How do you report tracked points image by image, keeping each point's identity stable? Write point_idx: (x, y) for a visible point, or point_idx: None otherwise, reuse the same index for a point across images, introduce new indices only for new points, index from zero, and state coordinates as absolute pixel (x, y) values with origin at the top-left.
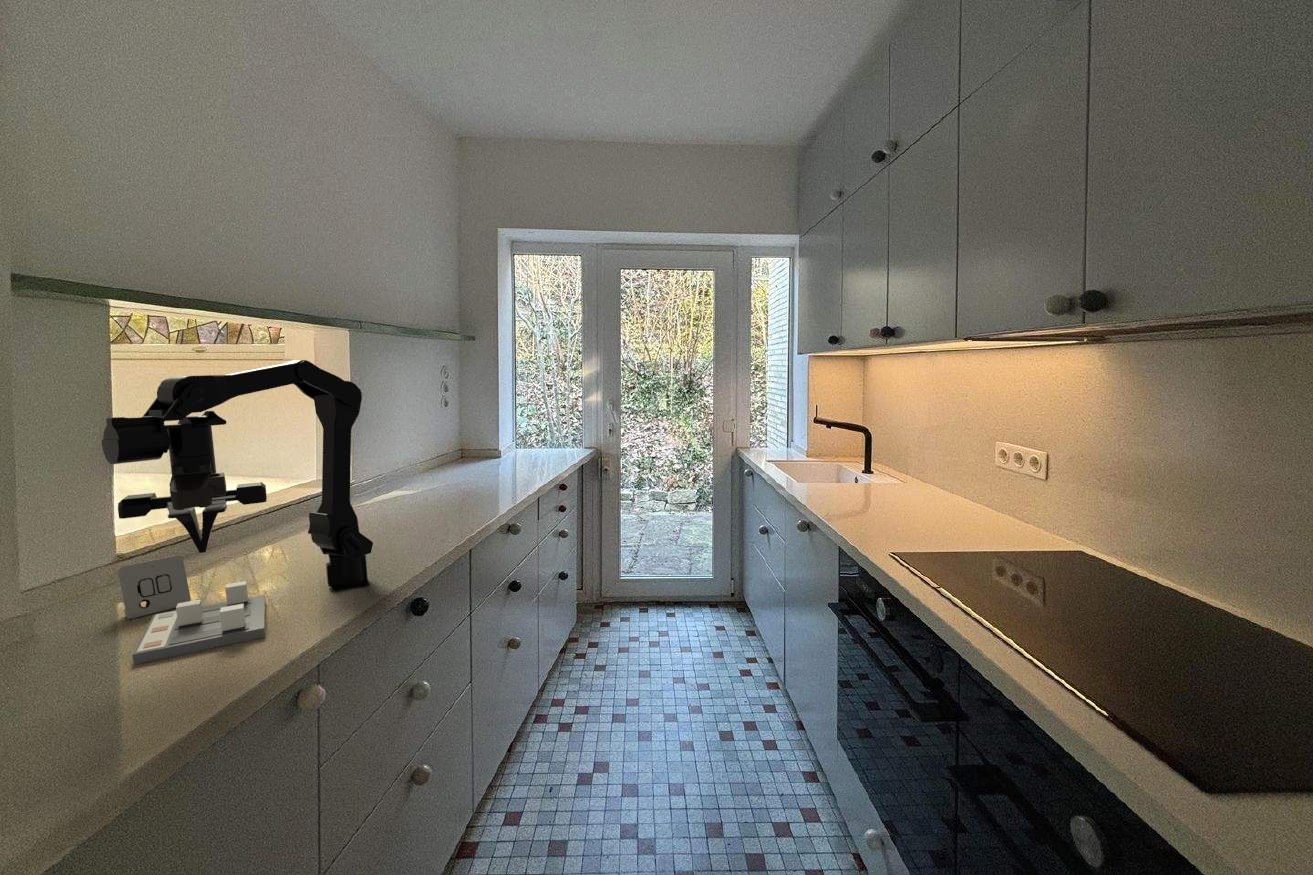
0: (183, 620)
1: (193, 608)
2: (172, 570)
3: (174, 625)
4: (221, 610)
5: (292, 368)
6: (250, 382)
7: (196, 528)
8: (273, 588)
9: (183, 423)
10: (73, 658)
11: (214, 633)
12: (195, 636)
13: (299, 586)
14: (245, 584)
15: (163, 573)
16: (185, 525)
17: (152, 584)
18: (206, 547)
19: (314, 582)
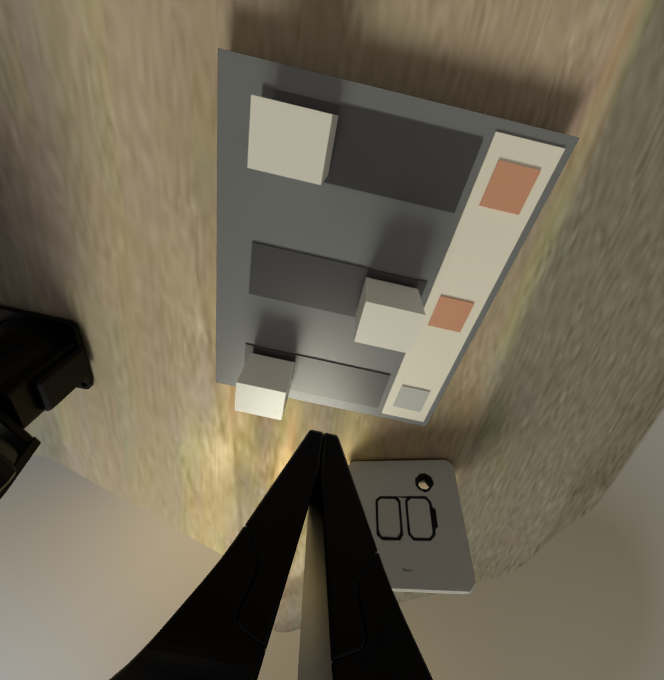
0: (406, 291)
1: (381, 299)
2: None
3: None
4: (323, 138)
5: None
6: None
7: (327, 595)
8: (208, 439)
9: None
10: (607, 323)
11: (357, 135)
12: (405, 157)
13: (159, 415)
14: (237, 383)
15: (387, 543)
16: (410, 663)
17: (409, 522)
18: (300, 445)
19: (131, 416)
